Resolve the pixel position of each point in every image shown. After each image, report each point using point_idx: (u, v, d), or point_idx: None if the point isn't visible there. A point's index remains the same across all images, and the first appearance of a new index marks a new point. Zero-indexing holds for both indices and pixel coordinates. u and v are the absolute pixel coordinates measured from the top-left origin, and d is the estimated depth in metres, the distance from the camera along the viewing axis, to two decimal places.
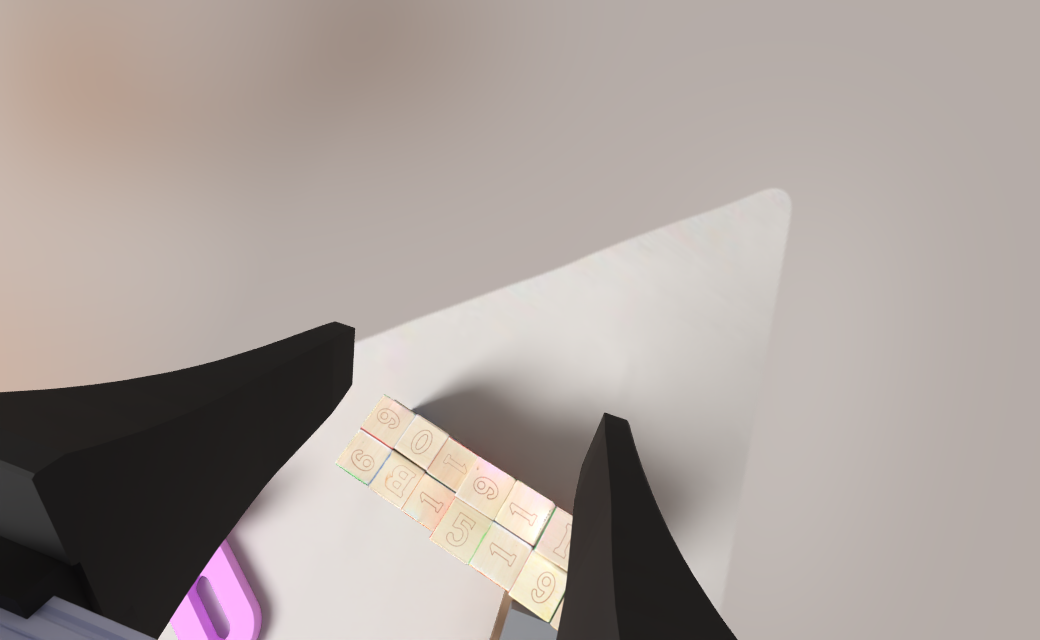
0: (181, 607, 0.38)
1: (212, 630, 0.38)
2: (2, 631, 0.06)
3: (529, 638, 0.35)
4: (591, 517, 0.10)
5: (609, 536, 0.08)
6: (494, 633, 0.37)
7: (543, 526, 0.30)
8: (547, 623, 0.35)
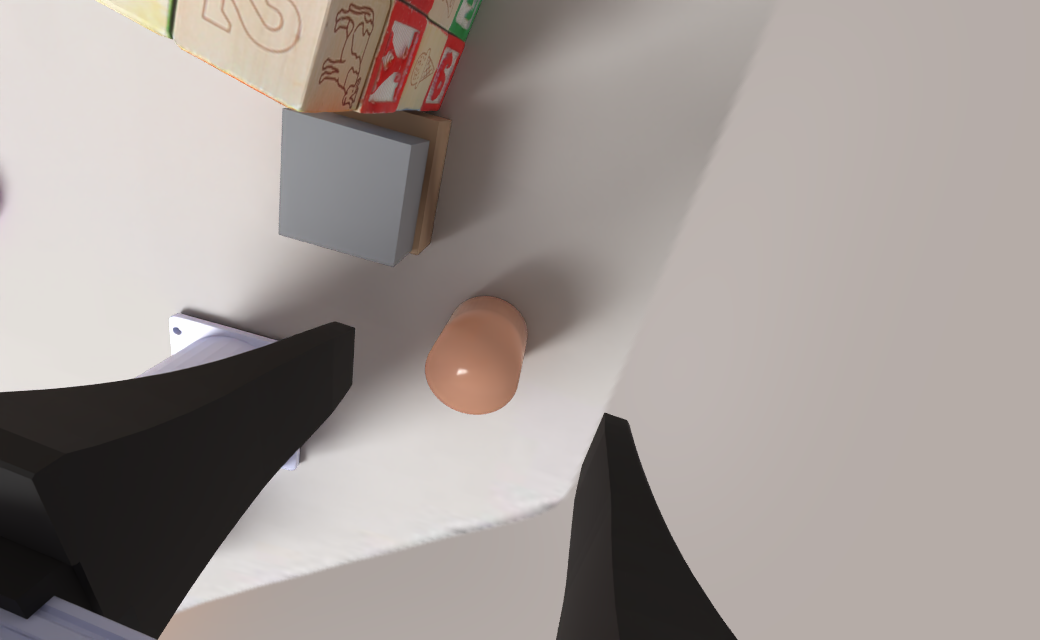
0: None
1: None
2: (2, 631, 0.06)
3: (329, 159, 0.18)
4: (591, 517, 0.10)
5: (609, 536, 0.08)
6: None
7: None
8: (357, 130, 0.18)
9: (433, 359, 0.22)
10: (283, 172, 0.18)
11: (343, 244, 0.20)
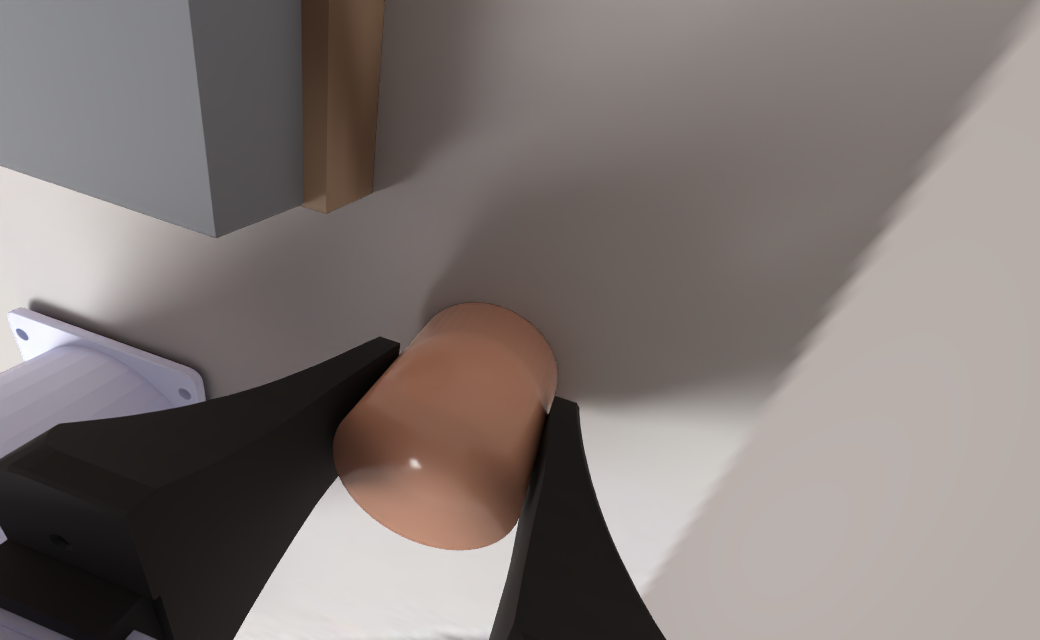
0: None
1: None
2: (2, 631, 0.06)
3: None
4: (532, 496, 0.10)
5: (535, 509, 0.08)
6: None
7: None
8: None
9: (346, 444, 0.10)
10: None
11: (105, 183, 0.08)
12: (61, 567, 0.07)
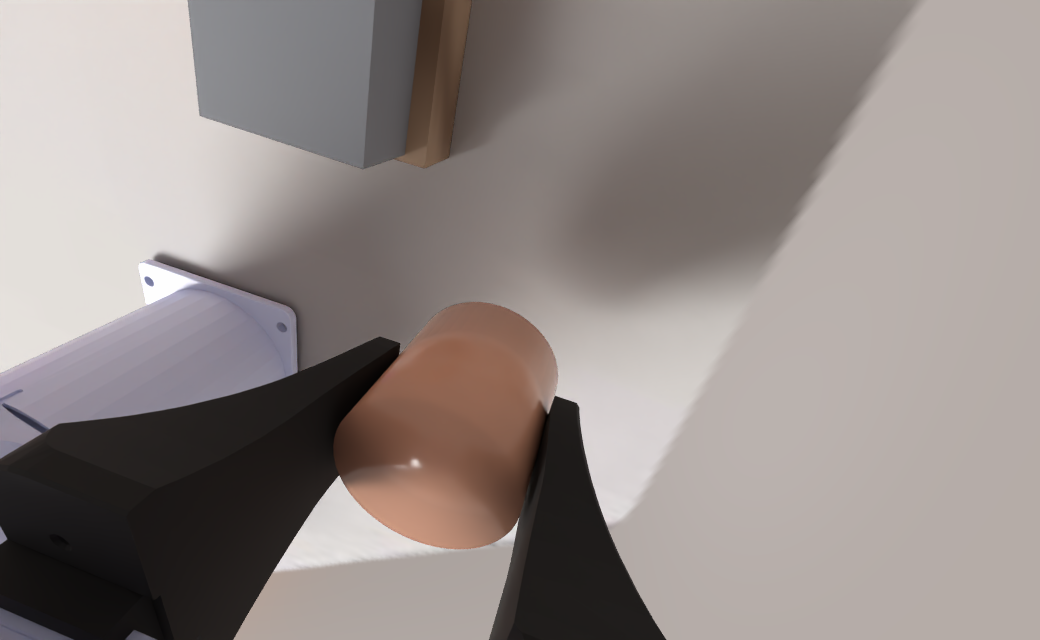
0: None
1: None
2: (2, 631, 0.06)
3: None
4: (532, 496, 0.10)
5: (535, 509, 0.08)
6: None
7: None
8: None
9: (347, 444, 0.10)
10: (192, 6, 0.12)
11: (289, 131, 0.13)
12: (61, 567, 0.07)
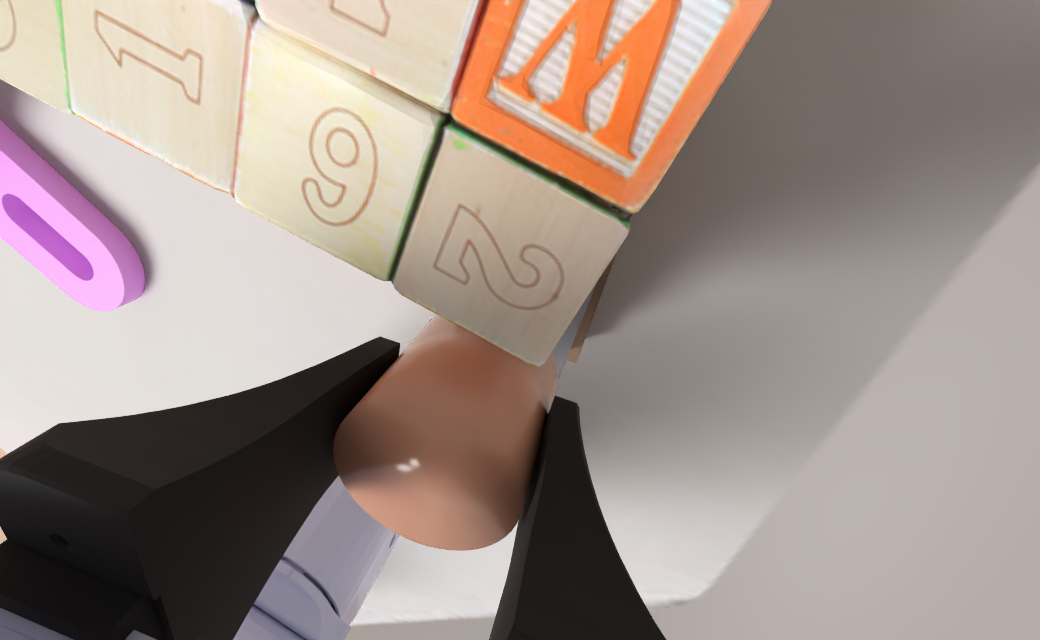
0: (17, 236, 0.25)
1: (85, 263, 0.26)
2: (2, 631, 0.06)
3: None
4: (532, 496, 0.10)
5: (535, 509, 0.08)
6: None
7: None
8: None
9: (346, 446, 0.10)
10: None
11: None
12: (61, 567, 0.07)
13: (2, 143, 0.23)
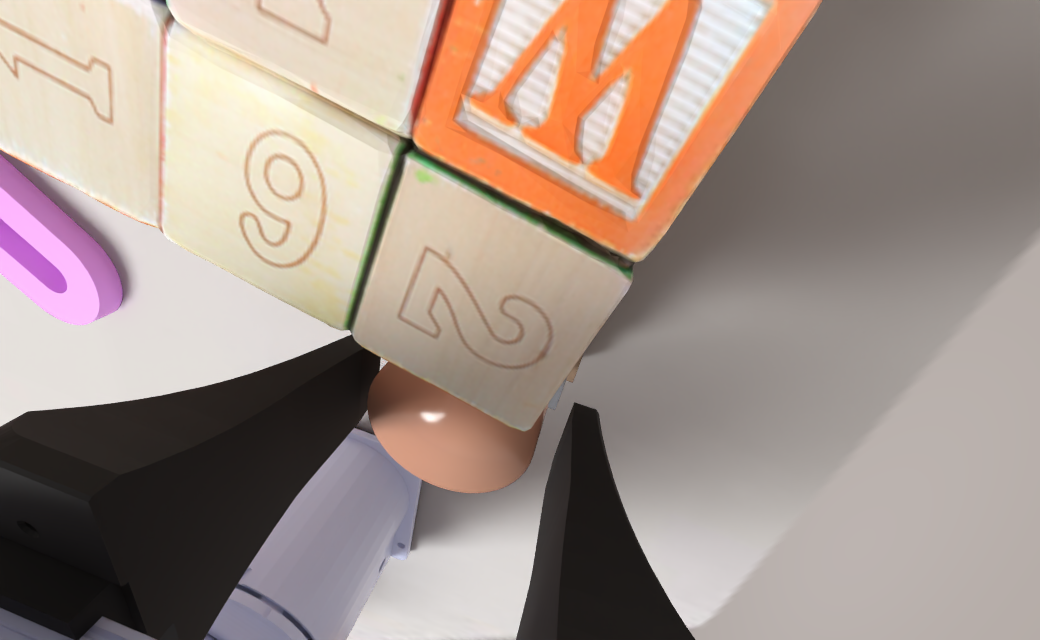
0: None
1: (59, 274, 0.25)
2: (2, 631, 0.06)
3: None
4: (555, 504, 0.10)
5: (564, 520, 0.08)
6: None
7: None
8: None
9: (379, 398, 0.12)
10: None
11: None
12: (30, 554, 0.07)
13: None
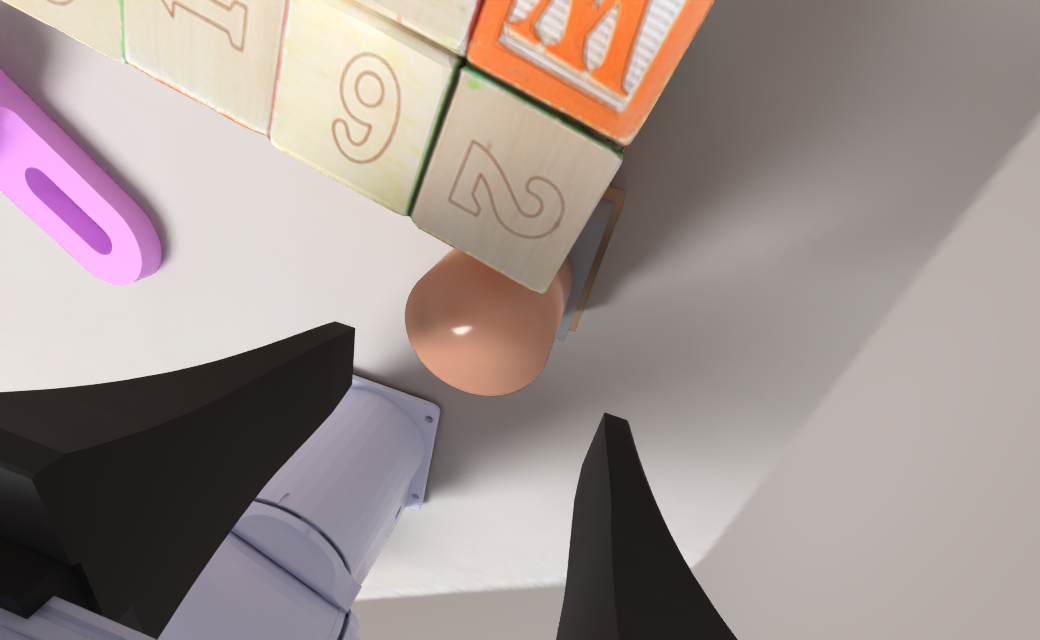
0: (38, 209, 0.26)
1: (102, 237, 0.27)
2: (2, 631, 0.06)
3: None
4: (591, 517, 0.10)
5: (609, 536, 0.08)
6: None
7: None
8: None
9: (415, 309, 0.14)
10: None
11: None
12: None
13: (28, 118, 0.24)
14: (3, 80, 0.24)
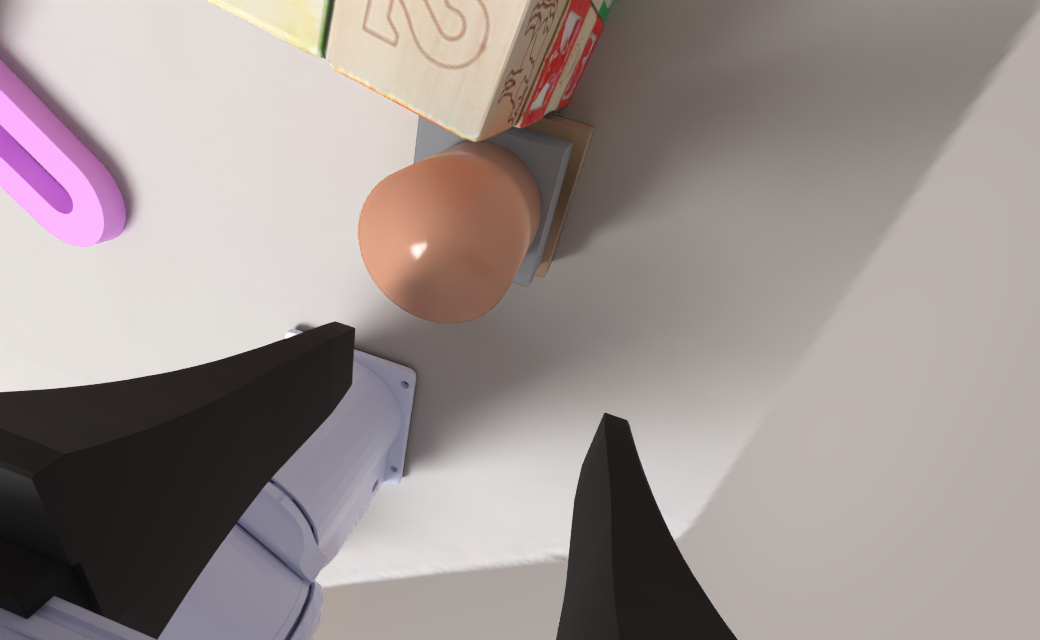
0: None
1: (64, 197, 0.26)
2: (2, 631, 0.06)
3: None
4: (591, 517, 0.10)
5: (609, 536, 0.08)
6: None
7: None
8: (502, 134, 0.15)
9: (369, 228, 0.13)
10: None
11: None
12: None
13: None
14: None
